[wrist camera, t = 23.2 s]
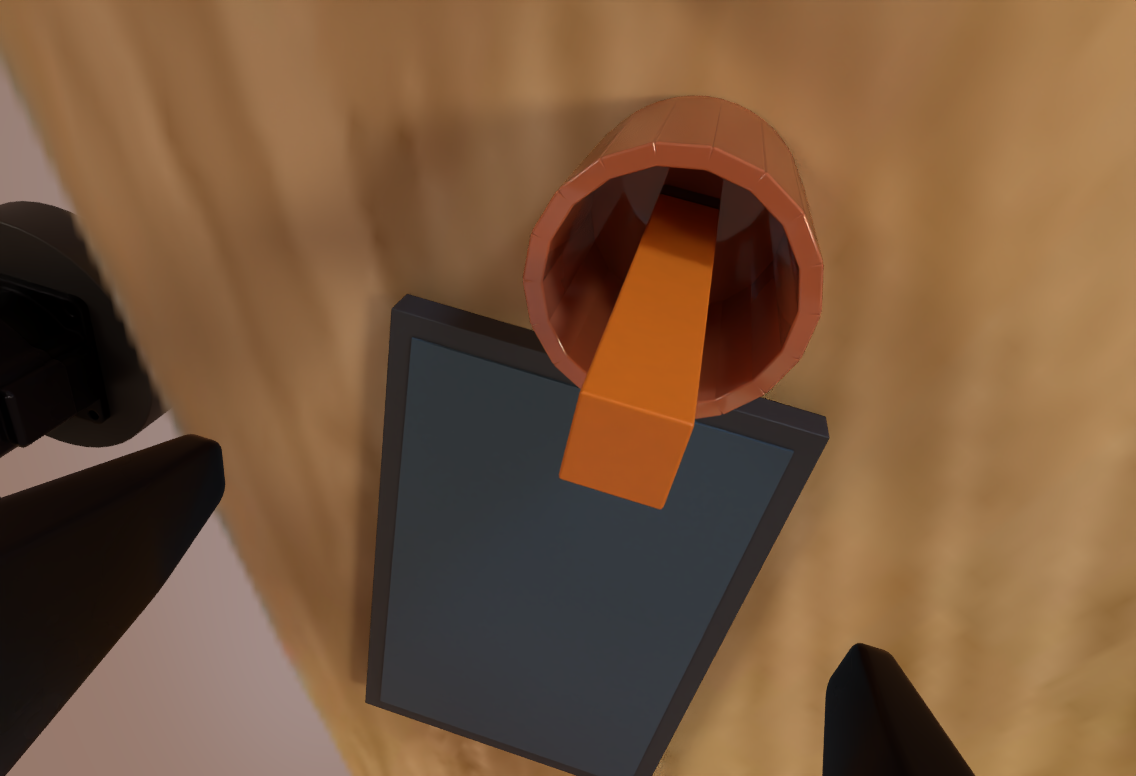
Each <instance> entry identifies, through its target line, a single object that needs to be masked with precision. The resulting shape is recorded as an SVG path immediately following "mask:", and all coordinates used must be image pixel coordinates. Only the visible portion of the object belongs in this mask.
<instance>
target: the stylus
mask: <svg viewBox="0 0 1136 776" xmlns="http://www.w3.org/2000/svg"><path fill="white" fill-rule="evenodd" d="M719 212H720V199H719V198H715V197H711V196H707V195H704V194H700V193H696V192H693V191H689V190H685V189H681V188H678V187H674V186H670V185H667V184H665V185H663V187H662V189H661V191H660V194H659V196H658V199H657V201H656V204H655V206H654V209H653V211H652V214H651V216H650V219H649V221H648V224H647V226H646V228H645V231H644V233H643V236H642V238H641V241H640V243H639V246H638V248H637V251H636V253H635V256H634V258H633V261H632V263H631V266H630V268H629V271H628V273H627V276H626V278H625V281H624V283H623V286H622V288H621V291H620V293H619V296H618V298H617V301H616V303H615V306H614V308H613V311H612V313H611V316H610V318H609V321H608V323H607V326H606V328H605V330H604V333H603V335H602V338H601V340H600V343H599V345H598V348H597V350H596V353H595V355H594V358H593V360H592V363H591V365H590V368H589V370H588V373H587V375H586V378H585V380H584V383H583V385H582V388H581V390H580V393H579V397H578V401H577V405H576V408H575V412H574V416H573V420H572V424H571V428H570V432H569V436H568V440H567V444H566V448H565V452H564V456H563V460H562V464H561V468H560V472H559V478H560V479H562V480H565V481H569V482H572V483H575V484H578V485H582V486H585V487H588V488H591V489H595V490H598V491H601V492H604V493H607V494H611V495H614V496H617V497H620V498H624V499H627V500H630V501H633V502H637V503H640V504H643V505H646V506H650V507H653V508H656V509H662V508H663V507H664V505H665V502H666V499H667V497H668V494H669V491H670V489H671V486H672V483H673V481H674V478H675V476H676V473H677V470H678V468H679V465H680V462H681V460H682V457H683V454H684V452H685V449H686V446H687V444H688V441H689V439H690V436H691V433H692V431H693V428H694V423H695V414H696V406H697V397H698V389H699V381H700V372H701V364H702V355H703V347H704V339H705V330H706V322H707V313H708V305H709V297H710V288H711V280H712V271H713V263H714V254H715V246H716V238H717V229H718V221H719Z"/></svg>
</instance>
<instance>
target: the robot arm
mask: <svg viewBox="0 0 1136 776" xmlns="http://www.w3.org/2000/svg"><path fill="white" fill-rule="evenodd" d="M73 416H74V417H77V418H80V419H83V420H86V421H90V422H93V423H96V424H101V423H103V422H104V421H106V420H107V419H109V418H110V409H109V404H108V400H107V395H106V390H105V385H104V380H103V376H102V371H101V366H100V361H99V356H98V352H97V347H96V342H95V337H94V332H93V328H92V323H91V318H90V313H89V309H88V306H87V305H86V303H85V302H84V301H83V300H82V299H81V298H79V297H77V296H75V295H72V294H68V293H65V292H62V291H59V290H55V289H52V288H49V287H45V286H42V285H39V284H36V283H32V282H29V281H26V280H23V279H19V278H16V277H13V276H9V275H6V274H3V273H0V458H1V457H2V456H4V455H5V454H7V453H8V452H10V451H12V450H13V449H15V448H16V447H18V446H19V447H23V448H24V447H27V446H28V445H30V444H32V443H33V442H35V441H36V440H38V439H39V438H41V437H42V436H44V435H45V434H47V433H48V432H50V431H51V430H53V429H54V428H56V427H57V426H59V425H61V424H62V423H64V422H65V421H67V420H68V419H70V418H71V417H73ZM224 490H225V477H224V467H223V457H222V449H221V446H220V445H219V443H218V442H216V441H214V440H211V439H208V438H204V437H201V436H198V435H194V434H188V435H184V436H181V437H178V438H175V439H172V440H169V441H166V442H163V443H160V444H157V445H155V446H152V447H149V448H146V449H143V450H140V451H137V452H134V453H131V454H128V455H125V456H122V457H119V458H117V459H113V460H111V461H108V462H105V463H102V464H99V465H96V466H93V467H90V468H87V469H84V470H81V471H78V472H75V473H73V474H70V475H67V476H64V477H61V478H58V479H55V480H52V481H49V482H46V483H43V484H40V485H37V486H34V487H32V488H29V489H26V490H23V491H20V492H17V493H14V494H11V495H8V496H5V497H2V498H1V497H0V776H5V775H6V774H7V773H8V772H9V771H10V770H11V768H12V767H13V766H14V765H15V764H16V762H17V761H18V760H19V759H20V758H21V756H22V755H23V754H24V753H25V752H26V750H27V749H28V748H29V747H30V746H31V744H32V743H33V742H34V741H35V739H36V738H37V737H38V736H39V734H41V732H42V731H43V730H44V728H46V726H47V725H48V724H49V723H50V722H51V720H52V719H53V718H54V717H55V716H56V714H57V713H58V712H59V711H60V710H61V708H62V707H63V706H64V705H65V704H66V702H67V701H68V700H69V699H70V697H71V696H72V695H73V694H74V693H75V692H76V690H77V689H78V688H79V687H80V686H81V684H82V683H83V682H84V681H85V680H86V679H87V677H88V676H89V675H90V674H91V673H92V671H93V670H94V669H95V668H96V666H97V665H98V664H99V663H100V662H101V661H102V659H103V658H104V657H105V656H106V655H107V653H108V652H109V651H110V650H111V649H112V647H113V646H114V645H115V644H116V643H117V641H118V640H119V639H120V638H121V637H122V635H123V634H124V633H125V632H126V631H127V629H128V628H129V627H130V626H131V625H132V623H133V622H134V621H135V620H136V619H137V617H138V616H139V615H140V614H141V613H142V611H143V610H144V609H145V608H146V607H147V605H148V604H149V603H150V602H151V600H152V599H153V598H154V597H155V595H156V594H157V593H158V592H159V590H160V589H161V588H162V586H163V585H164V583H165V582H166V580H167V579H168V578H169V576H170V575H171V573H172V572H173V570H174V569H175V567H176V566H177V564H178V563H179V562H180V560H181V558H182V557H183V556H184V554H185V553H186V551H187V550H188V548H189V547H190V545H191V544H192V542H193V541H194V539H195V538H196V536H197V535H198V533H199V532H200V530H201V529H202V527H203V526H204V525H205V523H206V522H207V520H208V518H209V517H210V516H211V514H212V513H213V511H214V510H215V508H216V507H217V505H218V504H219V502H220V500H221V498H222V496H223V493H224ZM822 776H975V775H974V773H973V772H972V770H971V769H970V767H969V766H968V765H967V763H966V762H965V760H964V759H963V757H962V756H961V754H960V753H959V751H958V750H957V749H956V747H955V746H954V744H953V743H952V741H951V740H950V738H949V737H948V736H947V734H946V733H945V731H944V730H943V728H942V727H941V725H940V724H939V722H938V721H937V720H936V718H935V717H934V715H933V714H932V712H931V711H930V709H929V708H928V707H927V705H926V704H925V702H924V701H923V699H922V698H921V696H920V695H919V694H918V692H917V691H916V689H915V688H914V686H913V685H912V683H911V682H910V680H909V679H908V678H907V676H906V675H905V673H904V672H903V670H902V669H901V667H900V666H899V664H898V663H897V662H896V660H895V659H894V657H893V656H892V655H891V654H890V653H889V652H887V651H885V650H882V649H879V648H876V647H872V646H869V645H866V644H863V643H857V644H855V645H853V646H852V648H851V649H850V650H849V652H848V653H847V654H846V656H845V657H844V659H843V660H842V662H841V663H840V665H839V666H838V668H837V669H836V670H835V672H834V673H833V675H832V676H831V678H830V680H829V683H828V686H827V690H826V701H825V726H824V750H823V774H822Z"/></svg>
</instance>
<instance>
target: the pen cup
mask: <svg viewBox="0 0 1136 776" xmlns="http://www.w3.org/2000/svg"><path fill="white" fill-rule="evenodd" d="M665 184H667V185H670V186H674V187H678V188H681V189H685V190H689V191H693V192H696V193H700V194H704V195H707V196H711V197H715V198H719V199H720V212H719V221H718V229H717V238H716V246H715V254H714V263H713V271H712V280H711V288H710V297H709V305H708V313H707V322H706V330H705V339H704V347H703V355H702V364H701V372H700V381H699V389H698V397H697V406H696V414H695V419H699V418H706V417H713V416H720V415H722V414H726V413H728V412H730V411H732V410H734V409H736V408H738V407H740V406H742V405H744V404H746V403H749V402H751V401H753V400H755V399H757V398H759V397H761V396H763V395H764V394H765V393H767V392H769V391H770V390H771V389H772V388H773V387H774V386H775V385H776V384H777V383H778V382H779V381H780V380H781V379H782V378H783V377H784V376H785V375H786V374H787V373H788V372H789V371H790V370H791V369H792V368H793V367H794V366H795V365H796V364H797V363H798V362H799V360H800V359H801V358H802V356H803V354H804V352H805V349H806V347H807V345H808V343H809V341H810V338H811V336H812V334H813V332H814V330H815V328H816V325H817V323H818V321H819V319H820V314H821V312H822V294H823V271H824V265H823V259H822V255H821V251H820V247H819V244H818V240H817V236H816V232H815V228H814V225H813V221H812V217H811V213H810V209H809V205H808V202H807V198H806V194H805V190H804V187H803V184H802V181H801V178H800V176H799V173H798V169H797V167H796V164H795V162H794V159H793V157H792V154H791V152H790V151H789V148H788V147H787V146H786V144H785V143H784V141H783V140H782V139H781V137H780V136H779V135H778V134H777V132H776V131H775V130H774V129H773V128H772V127H771V126H770V125H769V124H768V123H767V122H765V121H764V120H763V119H762V118H760V117H759V116H757V115H756V114H755V113H753V112H752V111H750V110H748V109H746V108H744V107H742V106H740V105H738V104H736V103H733V102H730V101H727V100H724V99H719V98H714V97H709V96H681V97H674V98H669V99H665V100H661V101H658V102H656V103H653V104H650V105H648V106H645V107H644V108H642V109H640V110H638V111H636V112H635V113H633V114H631V115H630V116H629V117H627V118H626V119H624V120H623V121H622V122H620V123H619V124H618V125H617V126H616V127H615V128H614V129H613V130H611V131H610V132H609V133H607V134H606V135H605V136H604V138H603V139H602V140H601V141H600V142H599V143H598V144H597V145H596V147H595V148H594V149H593V150H592V151H591V152H590V153H589V155H588V156H587V157H586V158H585V159H584V160H583V161H582V162H581V164H580V165H579V166H578V167H577V168H576V169H575V170H574V172H573V173H572V174H571V175H570V176H569V177H568V178H567V179H566V181H565V182H564V183H563V184H562V185H561V186H560V187H559V189H558V190H557V191H556V192H555V194H554V195H553V197H552V199H551V200H550V202H549V203H548V205H547V207H546V208H545V210H544V212H543V213H542V215H541V216H540V218H539V220H538V221H537V223H536V225H535V226H534V228H533V230H532V233H531V235H530V239H529V245H528V250H527V256H526V262H525V267H524V273H523V286H524V291H525V297H526V302H527V308H528V313H529V319H530V323H531V324H532V328H533V330H534V332H535V334H536V335H537V337H538V339H539V341H540V342H541V344H542V346H543V348H544V349H545V351H546V353H547V355H548V356H549V358H550V360H551V361H552V363H553V364H554V365H555V367H556V368H557V369H559V370H560V371H561V372H562V373H563V374H564V375H565V376H566V377H567V378H568V379H570V380H571V381H572V382H573V383H574V384H575V385H576V386H577V387H578V388H580V389H581V388H582V385H583V383H584V380H585V378H586V375H587V373H588V370H589V368H590V365H591V363H592V360H593V358H594V355H595V353H596V350H597V348H598V345H599V343H600V340H601V338H602V335H603V333H604V330H605V328H606V326H607V323H608V321H609V318H610V316H611V313H612V311H613V308H614V306H615V303H616V301H617V298H618V296H619V293H620V291H621V288H622V286H623V283H624V281H625V278H626V276H627V273H628V271H629V268H630V266H631V263H632V261H633V258H634V256H635V253H636V251H637V248H638V246H639V243H640V241H641V238H642V236H643V233H644V231H645V228H646V226H647V224H648V221H649V219H650V216H651V214H652V211H653V209H654V206H655V204H656V201H657V199H658V196H659V194H660V191H661V189H662V187H663V185H665Z"/></svg>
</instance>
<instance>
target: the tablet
mask: <svg viewBox="0 0 1136 776" xmlns="http://www.w3.org/2000/svg"><path fill="white" fill-rule="evenodd" d="M580 390H581V389H580V388H578V387H577V386H576V385H575V384H574V383H573V382H572V381H571V380H570V379H568V378H567V377H566V376H565V375H564V374H563V373H562V372H561V371H560V370H559V369H557V368H556V367H555V365H554V364H553V363H552V361H551V360H550V358H549V356H548V355H547V353H546V351H545V349H544V348H543V346H542V344H541V342H540V341H539V339H538V337H537V335H536V334H535V332H534V331H532V330H528V329H525V328H522V327H518V326H515V325H511V324H508V323H505V322H501V321H498V320H494V319H491V318H488V317H484V316H481V315H477V314H474V313H470V312H467V311H464V310H460V309H457V308H453V307H450V306H447V305H443V304H440V303H436V302H433V301H430V300H426V299H423V298H419V297H416V296H413V295H409V294H406V295H405V296H404V297H403V298H402V299H401V300H400V301H399V302H398V303H397V304H396V305H395V306H394V307H393V308H392V310H391V325H390V340H389V355H388V370H387V385H386V400H385V415H384V430H383V445H382V460H381V475H380V490H379V505H378V520H377V535H376V550H375V565H374V580H373V595H372V610H371V625H370V640H369V655H368V670H367V685H366V700H365V702H366V703H368V704H371V705H373V706H376V707H379V708H382V709H385V710H388V711H391V712H394V713H397V714H400V715H402V716H405V717H408V718H411V719H414V720H417V721H420V722H423V723H426V724H429V725H431V726H434V727H437V728H440V729H443V730H446V731H449V732H452V733H455V734H458V735H460V736H463V737H466V738H469V739H472V740H475V741H478V742H481V743H484V744H487V745H489V746H492V747H495V748H498V749H501V750H504V751H507V752H510V753H513V754H516V755H518V756H521V757H524V758H527V759H530V760H533V761H536V762H539V763H542V764H545V765H547V766H550V767H553V768H556V769H559V770H562V771H565V772H568V773H571V774H574V775H576V776H652V775H653V773H654V771H655V769H656V767H657V765H658V763H659V761H660V760H661V758H662V756H663V754H664V752H665V750H666V748H667V746H668V744H669V742H670V740H671V739H672V737H673V735H674V733H675V731H676V729H677V727H678V725H679V723H680V721H681V720H682V718H683V716H684V714H685V712H686V710H687V708H688V706H689V704H690V702H691V701H692V699H693V697H694V695H695V693H696V691H697V689H698V687H699V685H700V683H701V681H702V680H703V678H704V676H705V674H706V672H707V670H708V668H709V666H710V664H711V662H712V661H713V659H714V657H715V655H716V653H717V651H718V649H719V647H720V645H721V643H722V642H723V640H724V638H725V636H726V634H727V632H728V630H729V628H730V626H731V624H732V622H733V621H734V619H735V617H736V615H737V613H738V611H739V609H740V607H741V605H742V603H743V602H744V600H745V598H746V596H747V594H748V592H749V590H750V588H751V586H752V584H753V583H754V581H755V579H756V577H757V575H758V573H759V571H760V569H761V567H762V565H763V563H764V562H765V560H766V558H767V556H768V554H769V552H770V550H771V548H772V546H773V544H774V543H775V541H776V539H777V537H778V535H779V533H780V531H781V529H782V527H783V525H784V524H785V522H786V520H787V518H788V516H789V514H790V512H791V510H792V508H793V506H794V504H795V503H796V501H797V499H798V497H799V495H800V493H801V491H802V489H803V487H804V485H805V484H806V482H807V480H808V478H809V476H810V474H811V472H812V470H813V468H814V466H815V465H816V463H817V461H818V459H819V457H820V455H821V453H822V451H823V449H824V447H825V445H826V444H827V442H828V440H829V433H828V427H827V421H826V417H825V416H822V415H818V414H815V413H811V412H808V411H804V410H801V409H798V408H794V407H791V406H787V405H784V404H781V403H777V402H774V401H770V400H767V399H764V398H760V397H759V398H757V399H755V400H753V401H751V402H749V403H746V404H744V405H742V406H740V407H738V408H736V409H734V410H732V411H730V412H728V413H726V414H722V415H720V416H713V417H706V418H699V419H695V423H694V428H693V431H692V433H691V436H690V439H689V441H688V444H687V446H686V449H685V452H684V454H683V457H682V460H681V462H680V465H679V468H678V470H677V473H676V476H675V478H674V481H673V483H672V486H671V489H670V491H669V494H668V497H667V499H666V502H665V505H664V507H663V508H662V509H656V508H653V507H650V506H646V505H643V504H640V503H637V502H633V501H630V500H627V499H624V498H620V497H617V496H614V495H611V494H607V493H604V492H601V491H598V490H595V489H591V488H588V487H585V486H582V485H578V484H575V483H572V482H569V481H565V480H562V479H560V478H559V472H560V468H561V464H562V460H563V456H564V452H565V448H566V444H567V440H568V436H569V432H570V428H571V424H572V420H573V416H574V412H575V408H576V405H577V401H578V397H579V393H580Z"/></svg>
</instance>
